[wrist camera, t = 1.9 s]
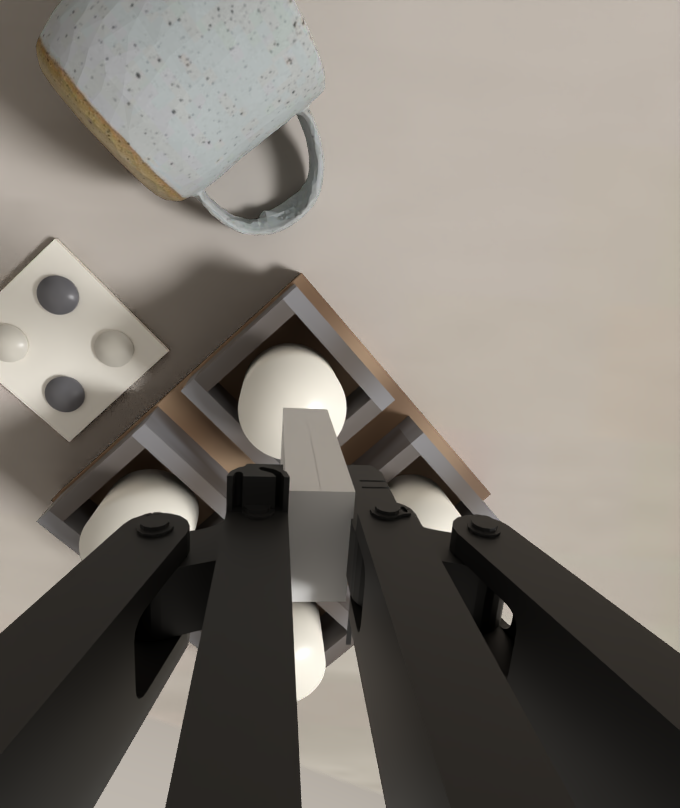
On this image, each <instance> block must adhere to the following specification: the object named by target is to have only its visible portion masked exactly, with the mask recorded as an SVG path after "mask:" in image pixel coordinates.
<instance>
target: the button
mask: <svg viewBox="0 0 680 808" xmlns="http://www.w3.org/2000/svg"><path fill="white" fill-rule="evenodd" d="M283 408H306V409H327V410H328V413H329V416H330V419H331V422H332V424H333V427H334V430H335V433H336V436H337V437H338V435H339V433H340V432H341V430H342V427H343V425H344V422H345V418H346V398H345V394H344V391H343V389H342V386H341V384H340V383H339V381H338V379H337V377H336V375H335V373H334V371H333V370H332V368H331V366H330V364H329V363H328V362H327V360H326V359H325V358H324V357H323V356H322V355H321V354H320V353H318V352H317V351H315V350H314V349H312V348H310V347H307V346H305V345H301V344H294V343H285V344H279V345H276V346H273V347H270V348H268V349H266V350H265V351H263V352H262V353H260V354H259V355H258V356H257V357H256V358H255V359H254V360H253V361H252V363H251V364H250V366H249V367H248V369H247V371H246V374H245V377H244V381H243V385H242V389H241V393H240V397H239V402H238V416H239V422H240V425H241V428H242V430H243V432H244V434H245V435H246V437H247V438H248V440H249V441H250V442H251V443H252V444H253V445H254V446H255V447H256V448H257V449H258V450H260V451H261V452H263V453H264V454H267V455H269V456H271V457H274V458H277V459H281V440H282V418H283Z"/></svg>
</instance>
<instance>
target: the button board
mask: <svg viewBox="0 0 680 808" xmlns="http://www.w3.org/2000/svg"><path fill="white" fill-rule="evenodd" d="M285 343H294V344H301V345H305V346H307V347H310V348H312V349H314V350H315V351H317V352H318V353H320V354H321V355H322V356H323V357H324V358H325V359H326V360H327V362H328V363H329V364H330V366H331V368H332V370H333V371H334V373H335V375H336V377H337V379H338V381H339V383H340V384H341V386H342V389H343V391H344V394H345V398H346V418H345V422H344V425H343V427H342V430H341V432H340V433H339V435H338V437H337V439H338V442H339V445H340V448H341V451H342V454H343V457H344V460H345V463H346V465H371V466H373V467H374V468H376V469H377V470H379V471H380V472H382V474H383V476H384V478H385V480H386V482H387V483H388V482H389V481H390V480H392V479H393V478H394V477H396V476H400V475H405V474H415V475H421V476H424V477H427V478H429V479H431V480H432V481H434V482H435V483H436V484H437V485H438V486H439V487H440V488H441V489H442V491H443V492H444V493H445V495H446V496H447V497H448V499H449V500H450V501H451V503H452V504H453V506H454V507H455V508H456V510H457V511H458V512H459V514H460V515H461V516H464V515H475V514H479V515H482V516H483V515H485V516H489V517H491V518H493V519H496V520H499V519H498V518H497V517H496V516H495V514H494V513H493V512H492V511H491V510H490V509H489V508H488V506H487V505H486V504H485V503H484V502H483V500H484V499H486V498H487V497H488V496H489V495H490V492H489V491H488V490H487V489H486V488H485V487H484V485H483V484H482V483H481V482H480V481H479V480H478V478H477V477H476V476H475V475H474V474H473V473H472V471H471V470H470V469H469V468H468V467H467V466H466V464H465V463H464V462H463V461H462V460H461V459H460V457H459V456H458V455H457V454H456V453H455V452H454V450H453V449H452V448H451V447H450V446H449V445H448V443H447V442H446V441H445V440H444V439H443V438H442V436H441V435H440V434H439V433H438V432H437V430H436V429H435V428H434V427H433V426H432V425H431V423H430V422H429V421H428V420H427V419H426V418H425V416H424V415H423V414H422V413H421V412H420V411H419V409H418V408H417V407H416V406H415V405H414V404H413V402H412V401H411V400H410V399H409V398H408V397H407V395H406V394H405V393H404V392H403V391H402V390H401V388H400V387H399V386H398V385H397V384H396V383H395V381H394V380H393V379H392V378H391V377H390V376H389V374H388V373H387V372H386V371H385V370H384V369H383V367H382V366H381V365H380V364H379V363H378V362H377V360H376V359H375V358H374V357H373V356H372V355H371V353H370V352H369V351H368V350H367V349H366V347H365V346H364V345H363V344H362V343H361V342H360V340H359V339H358V338H357V337H356V336H355V335H354V333H353V332H352V331H351V330H350V329H349V328H348V326H347V325H346V324H345V323H344V322H343V321H342V319H341V318H340V317H339V316H338V315H337V314H336V312H335V311H334V310H333V309H332V308H331V307H330V305H329V304H328V303H327V302H326V301H325V300H324V298H323V297H322V296H321V295H320V294H319V293H318V291H317V290H316V289H315V288H314V287H313V286H312V284H311V283H310V282H309V281H308V280H307V279H306V277H305V276H304V275H303V274H302V273H300V274H299V275H298V276H297V277H296V278H295V279H293V280H292V281H291V282H290V283H289V284H288V285H287V286H286V287H285V288H283V289H282V290H281V291H280V292H279V293H278V294H277V295H276V296H275V297H274V298H272V299H271V300H270V301H269V302H268V303H267V304H266V305H265V306H264V307H262V308H261V309H260V310H259V311H258V312H257V313H256V314H255V315H254V316H253V317H251V318H250V319H249V320H248V321H247V322H246V323H245V324H244V325H243V326H241V327H240V328H239V329H238V330H237V331H236V332H235V333H234V334H233V335H232V336H230V337H229V338H228V339H227V340H226V341H225V342H224V343H223V344H222V345H221V346H219V347H218V348H217V349H216V350H215V351H214V352H213V353H212V354H211V355H209V356H208V357H207V358H206V359H205V360H204V361H203V362H202V363H201V364H200V365H198V366H197V367H196V368H195V369H194V370H193V371H192V372H191V373H190V374H188V375H187V376H186V377H185V378H184V379H183V380H182V381H181V382H180V383H179V384H177V385H176V386H175V387H174V388H173V389H172V390H171V391H170V392H169V393H167V394H166V395H165V396H164V397H163V398H162V399H161V400H160V401H159V402H158V403H156V404H155V405H154V406H153V407H152V408H151V409H150V410H149V411H148V412H147V413H145V414H144V415H143V416H142V417H141V418H140V419H139V420H138V421H137V422H135V423H134V424H133V425H132V426H131V427H130V428H129V429H128V430H127V431H126V432H124V433H123V434H122V435H121V436H120V437H119V438H118V439H117V440H116V441H114V442H113V443H112V444H111V445H110V446H109V447H108V448H107V449H106V450H105V451H103V452H102V453H101V454H100V455H99V456H98V457H97V458H96V459H95V460H93V461H92V462H91V463H90V464H89V465H88V466H87V467H86V468H85V469H84V470H82V471H81V472H80V473H79V474H78V475H77V476H76V477H75V478H74V479H73V480H71V481H70V482H69V483H68V484H67V485H66V486H65V487H64V488H63V489H61V490H60V491H59V493H58V494H57V495H56V496H55V497H54V498H53V499H52V500H51V501H52V502H54V503H53V504H52V505H51V506H50V507H49V508H48V509H47V510H46V511H45V513H44V514H43V515H42V516H41V517H40V518H39V519H38V520H37V521H36V522H38V523H39V524H40V525H41V526H43V527H44V528H45V529H47V530H48V531H49V532H50V533H52V534H53V535H54V536H55V537H57V538H58V539H59V540H61V541H62V542H63V543H64V544H66V545H67V546H68V547H69V548H71V549H72V550H73V551H75V552H76V553H77V554H78V555H80V553H79V540H80V536H81V533H82V530H83V528H84V526H85V525H86V523H87V522H88V520H89V519H90V518H91V516H92V515H93V513H94V512H95V511H96V509H97V508H98V506H99V505H100V504H101V502H102V501H103V499H104V498H105V496H106V495H107V494H108V492H109V491H110V489H111V488H112V487H113V485H114V484H115V483H116V482H117V481H118V480H120V479H121V478H122V477H124V476H125V475H127V474H129V473H132V472H135V471H138V470H144V469H158V470H163V471H166V472H170V473H172V474H174V475H176V476H177V477H178V478H179V479H180V480H181V481H182V482H183V483H184V484H186V485H187V486H188V487H189V488H190V489H191V490H192V491H193V492H194V494H195V496H196V498H197V501H198V505H199V518H198V522H197V525H196V529H195V530H199V529H204V528H208V527H211V526H214V525H217V524H219V523H221V522H222V521H224V520H225V515H226V495H227V475H228V474H229V472H230V471H232V470H234V469H236V468H238V467H243V466H245V465H246V464H280V461H281V459H277V458H274V457H271V456H269V455H267V454H264V453H263V452H261V451H260V450H258V449H257V448H256V447H255V446H254V445H253V444H252V443H251V442H250V441H249V440H248V438H247V437H246V435H245V434H244V432H243V430H242V428H241V425H240V422H239V416H238V402H239V397H240V393H241V389H242V385H243V381H244V377H245V374H246V371H247V369H248V367H249V366H250V364H251V363H252V361H253V360H254V359H255V358H256V357H257V356H258V355H259V354H260V353H262V352H263V351H265V350H266V349H268V348H270V347H273V346H276V345H279V344H285ZM499 521H500V520H499ZM349 603H350V590H349V586H348V582H347V594H346V601H336V602H316V604H317V606H318V609H319V615H320V622H321V630H322V638H323V646H324V653H325V661H326V667H327V666H329V665H330V664H331V663H332V662H334V661H335V660H336V659H337V658H338V657H340V656H341V655H342V654H343V653H345V652H346V651H347V650H348V649H350V648H351V647H352V646H353V645H354V641H353V637H352V639H351V645H346V636H347V625H348V614H349ZM201 632H202V630H199V631H195V632H191V633H190V639H189V642H190V643H192V644H193V645H194V646H196V647H197V648H198V646H199V641H200V637H201ZM326 667H325V668H326Z"/></svg>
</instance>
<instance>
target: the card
mask: <svg viewBox="0 0 680 808" xmlns="http://www.w3.org/2000/svg"><path fill="white" fill-rule="evenodd" d="M168 351H169V349H168V348H167V347H166V346H165V345H164V344H163V343H162V342H161V341H160V340H159V339H158V338H157V337H156V336H155V335H154V334H153V333H152V332H151V331H150V330H149V329H148V328H147V327H146V326H145V325H144V324H143V323H142V322H141V321H140V320H139V319H138V318H137V317H136V316H135V315H134V314H133V313H132V312H131V311H130V310H129V309H128V308H127V307H126V306H125V305H124V304H123V303H122V302H121V301H120V300H119V299H118V298H117V297H116V296H115V295H114V294H113V293H112V292H111V291H110V290H109V289H108V288H107V287H106V286H105V285H104V284H103V283H102V282H101V281H100V280H99V279H98V278H97V277H96V276H95V275H94V274H93V273H92V272H91V271H90V270H89V269H88V268H87V267H86V266H85V265H84V264H83V263H82V262H81V261H80V260H79V259H78V258H77V257H76V256H75V255H74V254H72V253H71V252H70V251H69V250H68V249H67V248H66V247H65V246H64V245H63V244H62V243H61V242H60V241H59V240H58V239H54V240H53V241H52V242H51V243H50V244H49V245H48V246H47V247H46V248H45V249H44V250H43V251H42V252H41V253H40V254H39V255H38V256H37V257H36V258H34V259H33V260H32V261H31V262H30V263H29V264H28V265H27V266H26V267H25V268H24V269H23V270H22V271H21V272H20V273H19V274H18V275H17V276H16V277H15V278H14V279H13V280H12V281H11V282H10V283H9V284H8V285H7V286H6V287H5V288H3V289H2V290H1V291H0V383H1V384H2V385H3V386H4V387H6V388H7V389H8V390H9V391H10V392H11V393H13V394H14V395H15V396H16V397H17V398H18V399H20V400H21V401H22V402H23V403H24V404H25V405H27V406H28V407H29V408H30V409H31V410H32V411H34V412H35V413H36V414H37V415H38V416H39V417H41V418H42V419H43V420H44V421H45V422H46V423H48V424H49V425H50V426H51V427H52V428H53V429H55V430H56V431H57V432H58V433H59V434H60V435H62V436H63V437H64V438H65V439H66V440H67V441H68V442H70V441H71V440H72V439H73V438H74V437H75V436H76V435H78V434H79V433H80V432H81V431H82V430H83V429H84V428H85V427H86V426H87V425H88V424H90V423H91V422H92V421H93V420H94V419H95V418H96V417H97V416H98V415H99V414H100V413H102V412H103V411H104V410H105V409H106V408H107V407H108V406H109V405H110V404H111V403H113V402H114V401H115V400H116V399H117V398H118V397H119V396H120V395H121V394H122V393H123V392H125V391H126V390H127V389H128V388H129V387H130V386H131V385H132V384H133V383H134V382H135V381H137V380H138V379H139V378H140V377H141V376H142V375H143V374H144V373H145V372H146V371H147V370H149V369H150V368H151V367H152V366H153V365H154V364H155V363H156V362H157V361H158V360H160V359H161V358H162V357H163V356H164V355H165V354H166V353H167V352H168Z"/></svg>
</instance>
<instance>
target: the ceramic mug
mask: <svg viewBox="0 0 680 808" xmlns="http://www.w3.org/2000/svg"><path fill="white" fill-rule="evenodd" d="M36 51H37V57H38V61H39V65H40V68H41V70H42V72H43V73H44V75H45V76H46V78H47V80H48V81H49V83H50V84H51V85H52V87H53V88H54V89H55V91H56V92H57V93H58V94H59V96H60V97H61V98H62V99H63V100H64V102H65V103H66V104H67V105H68V106H69V108H70V109H71V110H72V111H73V112H74V114H75V115H76V116H77V117H78V119H79V120H80V121H81V122H82V123H83V124H84V125H85V126H86V127H87V128H88V130H89V131H90V132H91V133H92V134H93V135H94V136H95V137H96V138H97V139H98V140H99V141H100V142H101V143H102V144H103V145H104V146H105V147H106V149H107V150H108V151H109V152H110V153H111V154H112V155H113V156H114V157H115V158H116V159H117V160H118V161H119V162H120V163H121V164H122V165H123V166H124V167H125V168H126V169H127V170H128V171H129V172H130V173H131V174H132V175H133V176H134V177H136V178H137V179H138V180H139V181H140V182H141V183H142V184H143V185H145V186H146V187H147V188H148V189H149V190H151V191H152V192H153V193H155V194H156V195H158V196H159V197H161V198H163V199H165V200H172V201H182V200H184V199H186V198H188V197H190V196H192V197H195V198H197V199H198V200H199V201H200V202H201V203H202V205H203V206H204V207H205V208H206V209H207V210H208V211H209V213H210V214H211V215H212V216H214V217H215V218H217V219H218V220H219V221H220V222H221V223H223V224H224V225H226V226H228V227H230V228H232V229H234V230H236V231H238V232H240V233H243V234H251V235H270V234H274V233H276V232H279V231H282V230H284V229H286V228H288V227H290V226H291V225H293V224H294V223H295V222H297V221H298V220H300V219H301V218H302V217H303V216H304V215H305V214H306V213H307V212H308V211H309V210H310V209H311V208H312V207H313V205H314V204H315V202H316V200H317V198H318V196H319V194H320V190H321V187H322V182H323V174H324V154H323V149H322V144H321V139H320V135H319V131H318V129H317V126H316V123H315V120H314V118H313V116H312V114H311V112H310V110H309V106H310V104H311V102H312V101H313V100H314V99H316V98H317V97H318V96H319V95H320V94H321V93H322V92H323V90H324V88H325V75H324V69H323V65H322V62H321V59H320V56H319V53H318V50H317V48H316V46H315V43H314V40H313V37H312V35H311V33H310V31H309V29H308V26H307V24H306V22H305V20H304V18H303V16H302V14H301V13H300V11H299V9H298V7H297V5H296V3H295V1H294V0H62V1H61V2H60V3H59V4H58V6H57V7H56V8H55V10H54V11H53V13H52V14H51V16H50V18H49V20H48V21H47V23H46V25H45V27H44V29H43V31H42V32H41V34H40V36H39V38H38V41H37V44H36ZM294 115H297V116H298V119H299V121H300V123H301V126H302V129H303V131H304V134H305V137H306V141H307V147H308V152H309V173H308V178H307V180H306V182H305V183H304V184H303V185H302V188H301V190H300V191H299V192H297V193H296V194H294V195H293V196H292V197H290V198H289V199H287V200H286V201H285V202H283V203H282V204H281V205H279V206H277V207H275V208H273V209H272V210H267V211H263V212H262V213H261V214H260V216H259V218H258V219H246V218H242V217H238V216H234V215H232V214H230V213H229V212H228V211H227V210H225V209H223V208H221V207H220V206H219V205H218V204H217V203H216V202H214V201H213V200H212V199H211V198H210V197H209V196H208V195H207V193H206V192H205V188H206V187H208V186H209V185H211V184H212V183H213V182H214V181H216V180H217V179H218V178H219V177H221V176H222V175H223V174H224V173H225V172H226V171H227V170H229V169H230V168H231V167H232V166H233V165H234V164H235V163H236V162H237V161H238V160H239V159H240V158H242V157H243V156H244V155H245V154H247V153H248V152H249V151H251V150H252V149H253V148H255V147H256V146H257V145H259V144H260V143H261V142H262V141H263V140H265V139H266V138H267V137H268V136H270V135H271V134H272V133H273V132H275V131H276V130H278V129H279V128H280V127H281V126H282V125H284V124H285V123H287V122H288V121H289V120H290V119H291V118H292V117H293V116H294Z"/></svg>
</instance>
